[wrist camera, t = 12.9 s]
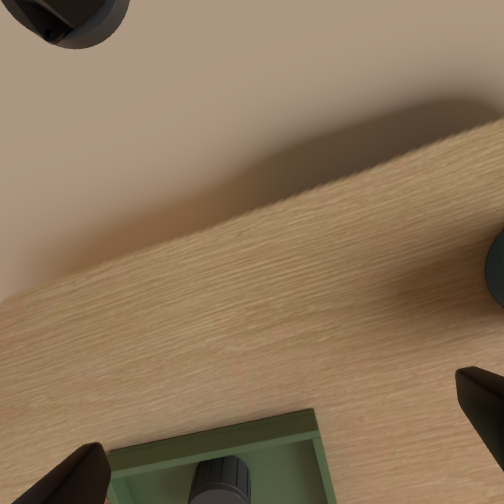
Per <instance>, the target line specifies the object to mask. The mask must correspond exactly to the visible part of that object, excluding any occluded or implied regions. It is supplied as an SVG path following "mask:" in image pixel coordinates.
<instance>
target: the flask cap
mask: <svg viewBox="0 0 504 504" xmlns="http://www.w3.org/2000/svg"><path fill="white" fill-rule="evenodd" d="M188 504H251V481H250V472H249V469H248V467H247V466H246V464H245V463H244V462H243V461H242V460H241V459H239V458H238V457H236V456H234V455H229V456H224V457H219V458H214V459H209V460H204V461H201V462H200V463H199V464H198V466H197V468H196V470H195V474H194V475H193V480H192V485H191V489H190V494H189V499H188Z"/></svg>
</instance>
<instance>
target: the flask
mask: <svg viewBox="0 0 504 504" xmlns="http://www.w3.org/2000/svg"><path fill="white" fill-rule="evenodd" d="M486 281H487V285H488V288H489V290H490V292H491V294H492V296H493V297H494V299H495V300H496V301H497V302H498V303H499V304H500V305H501V306H502V307H504V230H503V231H502V232H501V233H500V235H499V236H498V237H497V239H496V240H495V242H494V243H493V245H492V247H491V249H490V252H489V254H488V258H487V261H486Z"/></svg>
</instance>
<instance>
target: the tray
mask: <svg viewBox="0 0 504 504" xmlns="http://www.w3.org/2000/svg"><path fill="white" fill-rule="evenodd" d="M229 455H234V456H236V457H238V458H239V459H241V460H242V461H243V462H244V463H245V464H246V466H247V467H248V469H249V472H250V481H251V504H337V502H336V498H335V494H334V490H333V485H332V481H331V477H330V473H329V469H328V465H327V460H326V456H325V452H324V448H323V444H322V440H321V435H320V431H319V427H318V423H317V419H316V416H315V412H314V409H309V410H305V411H300V412H295V413H290V414H285V415H281V416H276V417H271V418H266V419H261V420H257V421H252V422H247V423H242V424H237V425H233V426H228V427H223V428H218V429H213V430H209V431H204V432H199V433H194V434H189V435H185V436H180V437H175V438H170V439H165V440H161V441H156V442H151V443H146V444H141V445H137V446H132V447H127V448H122V449H117V450H113V451H110V453H109V455H108V457H107V459H108V461H109V464H110V466H111V479H110V483H109V487H108V491H107V494H106V495H107V497H108V500H109V502H110V504H188V499H189V494H190V489H191V485H192V480H193V475H194V474H195V470H196V468H197V466H198V464H199V463H200V462H201V461H204V460H209V459H214V458H219V457H224V456H229Z"/></svg>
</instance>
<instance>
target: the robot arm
mask: <svg viewBox="0 0 504 504" xmlns="http://www.w3.org/2000/svg"><path fill="white" fill-rule="evenodd" d="M14 1H15V3H16V4H17V5H18V7H19V8H20V9H21V10H22V12H23V13H24V14H25V16H26V17H27V18H28V20H29V21H30V22H31V23H32V25H33V26H34V27H35V29H36V30H37V31H38V33H39V34H40V35H41V37H42V38H43V39H44V40H45V41H47V42H48V43H50V44H52V45H56V44H58V43H59V42H60V41H61V40H62V39H64V38H65V37H66V36H67V35H68V34H69V33H70V32H71V31H72V30H74V29H77V28H78V27H79V26H80V25H82V24H83V23H84V22H85V21H86V20H87V19H88V18H89V17H90V16H92V15H93V14H94V13H95V12H96V11H97V10H98V9H99V8H100V7H102V6H103V5H104V4H105V2H106V0H14ZM51 31H52V32H53V36H52V37H50V38H49V33H50V32H51ZM455 379H456V388H457V397H458V402H459V404H460V407H461V409H462V410H463V412H464V413H465V415H466V416H467V418H468V419H469V421H470V422H471V424H472V425H473V427H474V428H475V430H476V431H477V433H478V434H479V436H480V437H481V439H482V440H483V442H484V443H485V445H486V446H487V448H488V449H489V451H490V452H491V454H492V455H493V457H494V458H495V460H496V461H497V463H498V464H499V466H500V467H501V469H502V470H503V471H504V377H503V376H500V375H497V374H495V373H492V372H489V371H486V370H484V369H481V368H478V367H475V366H470V367H465V368H461V369H458V370H456V372H455ZM110 479H111V466H110V464H109V461H108V459H107V456H106V454H105V451H104V449H103V446H102V445H101V444H100V443H99V442H94V443H89V444H84V445H82V446H81V447H79V448H78V449H77V450H76V451H74V452H73V453H72V454H71V455H70V456H68V457H67V458H66V459H65V460H64V461H62V462H61V463H60V464H59V465H57V466H56V467H55V468H54V469H53V470H51V471H50V472H49V473H48V474H47V475H45V476H44V477H43V478H42V479H41V480H39V481H38V482H37V483H36V484H34V485H33V486H32V487H31V488H30V489H28V490H27V491H26V492H25V493H24V494H22V495H21V496H20V497H19V498H17V499H16V500H15V501H14V502H13V503H11V504H104V502H105V498H106V494H107V491H108V487H109V483H110Z"/></svg>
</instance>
